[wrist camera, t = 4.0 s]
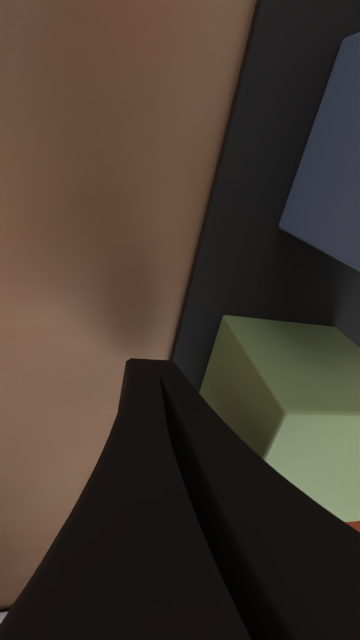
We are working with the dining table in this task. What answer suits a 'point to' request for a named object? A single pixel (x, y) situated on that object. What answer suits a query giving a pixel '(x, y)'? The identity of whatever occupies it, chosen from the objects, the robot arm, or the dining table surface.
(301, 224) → the blue block
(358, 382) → the sage block
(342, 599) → the robot arm
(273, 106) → the line mat
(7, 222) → the dining table surface
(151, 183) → the dining table surface
